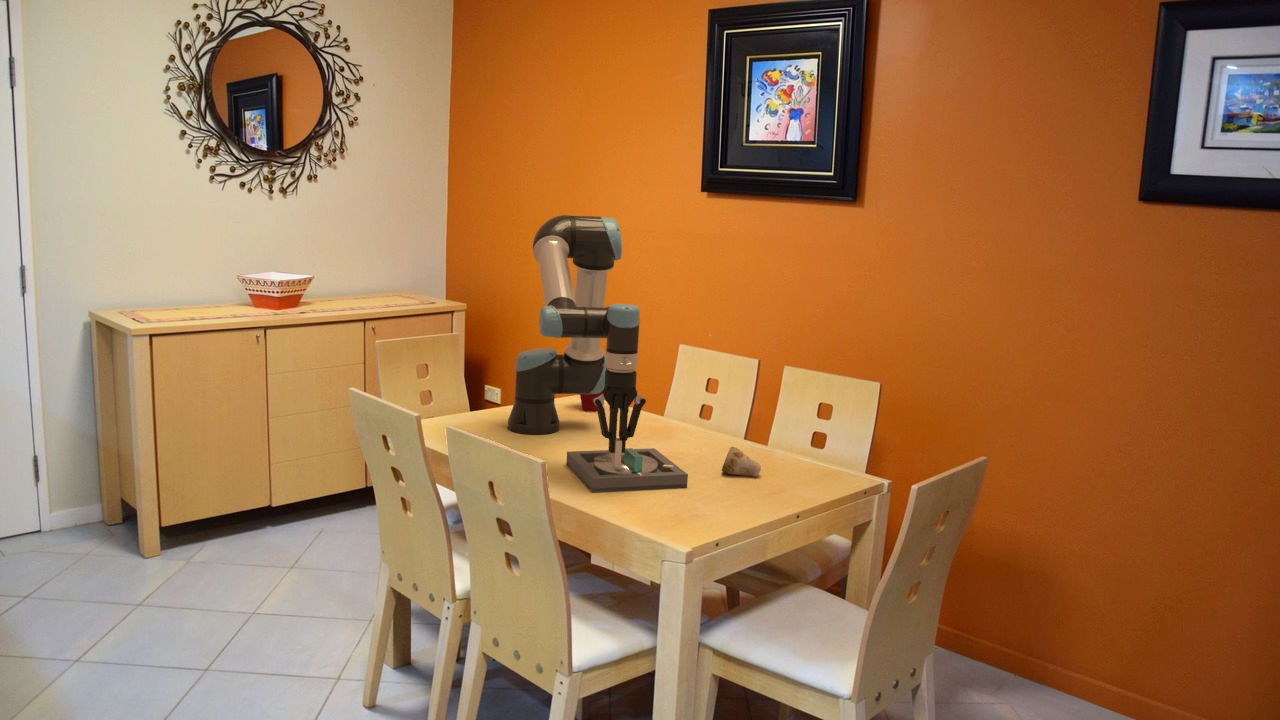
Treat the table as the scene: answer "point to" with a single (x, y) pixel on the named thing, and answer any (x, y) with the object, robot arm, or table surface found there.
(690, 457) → the table surface
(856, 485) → the table surface
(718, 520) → the table surface
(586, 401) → the plastic cup
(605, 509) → the table surface
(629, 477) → the housing
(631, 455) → the dial
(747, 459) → the beige spotted tapered lump
